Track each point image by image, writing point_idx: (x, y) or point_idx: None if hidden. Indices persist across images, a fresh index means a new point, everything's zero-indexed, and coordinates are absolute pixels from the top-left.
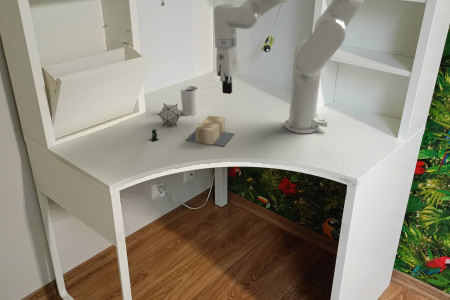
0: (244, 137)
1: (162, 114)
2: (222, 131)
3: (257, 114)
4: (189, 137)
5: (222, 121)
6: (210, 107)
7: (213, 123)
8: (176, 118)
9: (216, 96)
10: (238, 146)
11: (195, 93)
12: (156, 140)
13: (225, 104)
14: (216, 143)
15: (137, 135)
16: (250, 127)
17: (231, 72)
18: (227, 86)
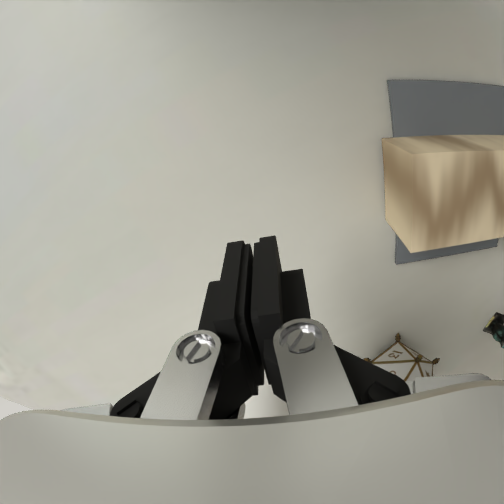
0: (391, 23)
1: None
2: (416, 137)
3: (88, 104)
4: (483, 243)
5: (442, 150)
6: (160, 324)
7: (495, 180)
8: (412, 354)
9: (70, 344)
10: (475, 29)
11: (260, 417)
12: (501, 315)
13: (94, 290)
14: (500, 122)
15: (473, 366)
16: (261, 38)
17: (451, 476)
18: (309, 310)
